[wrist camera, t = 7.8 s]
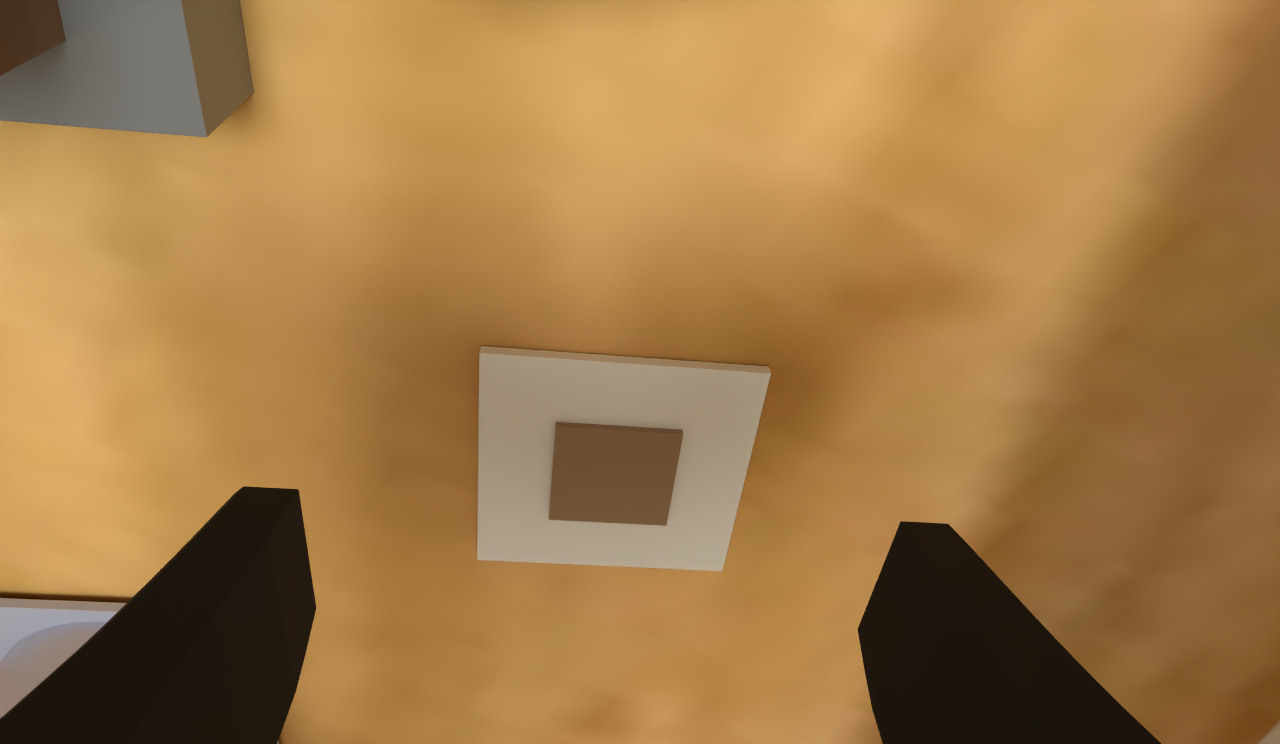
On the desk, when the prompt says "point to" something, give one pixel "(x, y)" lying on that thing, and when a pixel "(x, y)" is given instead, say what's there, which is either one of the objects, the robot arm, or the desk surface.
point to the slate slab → (136, 68)
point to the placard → (612, 457)
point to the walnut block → (28, 30)
